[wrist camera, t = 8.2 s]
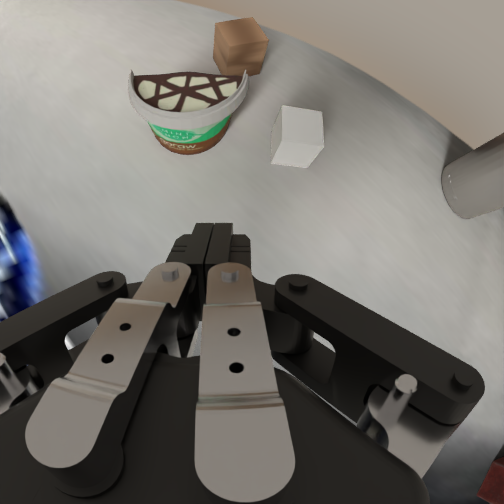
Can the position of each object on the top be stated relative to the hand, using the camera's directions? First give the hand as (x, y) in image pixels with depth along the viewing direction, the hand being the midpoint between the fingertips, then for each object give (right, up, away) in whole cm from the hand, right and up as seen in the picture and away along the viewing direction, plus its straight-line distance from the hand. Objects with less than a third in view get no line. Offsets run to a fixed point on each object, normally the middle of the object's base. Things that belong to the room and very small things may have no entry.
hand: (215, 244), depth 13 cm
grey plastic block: (+6, +12, +23) cm, 27 cm away
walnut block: (-1, +25, +24) cm, 35 cm away
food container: (-6, +13, +22) cm, 26 cm away
